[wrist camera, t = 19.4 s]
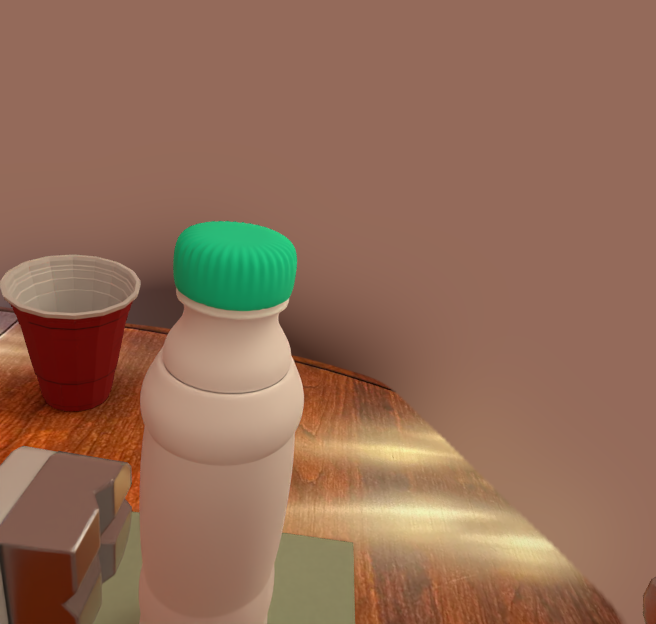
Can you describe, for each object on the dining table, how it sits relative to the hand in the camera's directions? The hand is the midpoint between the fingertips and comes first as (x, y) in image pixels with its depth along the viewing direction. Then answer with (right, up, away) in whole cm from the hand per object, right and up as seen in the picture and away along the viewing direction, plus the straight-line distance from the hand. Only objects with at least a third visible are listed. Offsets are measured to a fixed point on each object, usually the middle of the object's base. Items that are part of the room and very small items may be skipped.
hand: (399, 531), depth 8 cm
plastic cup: (-25, -5, +43) cm, 49 cm away
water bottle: (-8, -16, +23) cm, 29 cm away
